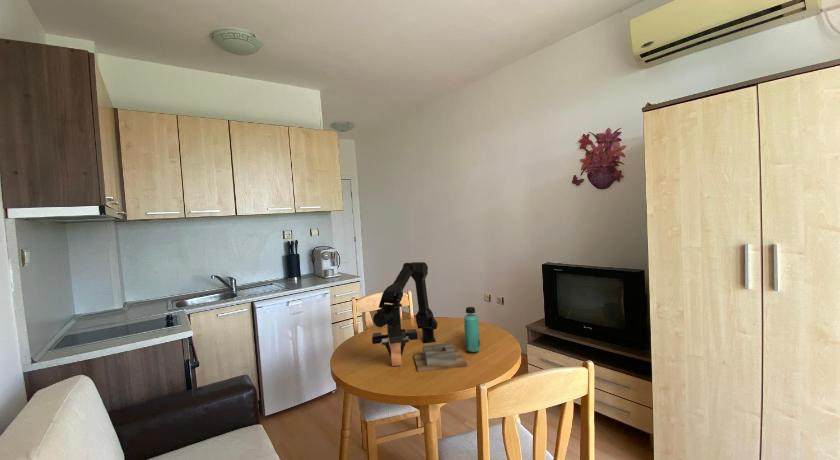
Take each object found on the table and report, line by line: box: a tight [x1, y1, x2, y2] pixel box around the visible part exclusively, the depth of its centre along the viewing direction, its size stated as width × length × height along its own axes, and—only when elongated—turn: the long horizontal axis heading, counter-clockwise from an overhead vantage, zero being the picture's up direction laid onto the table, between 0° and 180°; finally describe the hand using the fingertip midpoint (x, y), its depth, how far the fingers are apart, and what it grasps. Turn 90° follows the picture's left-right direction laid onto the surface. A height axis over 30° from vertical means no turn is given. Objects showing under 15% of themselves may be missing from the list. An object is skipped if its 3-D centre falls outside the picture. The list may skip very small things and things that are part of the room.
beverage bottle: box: [463, 306, 481, 353], centre depth 154 cm, size 6×7×20 cm
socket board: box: [413, 342, 468, 373], centre depth 148 cm, size 16×20×5 cm
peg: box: [389, 342, 402, 367], centre depth 147 cm, size 4×4×10 cm
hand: (396, 356), depth 147 cm, fingers closed on peg, 4 cm apart
